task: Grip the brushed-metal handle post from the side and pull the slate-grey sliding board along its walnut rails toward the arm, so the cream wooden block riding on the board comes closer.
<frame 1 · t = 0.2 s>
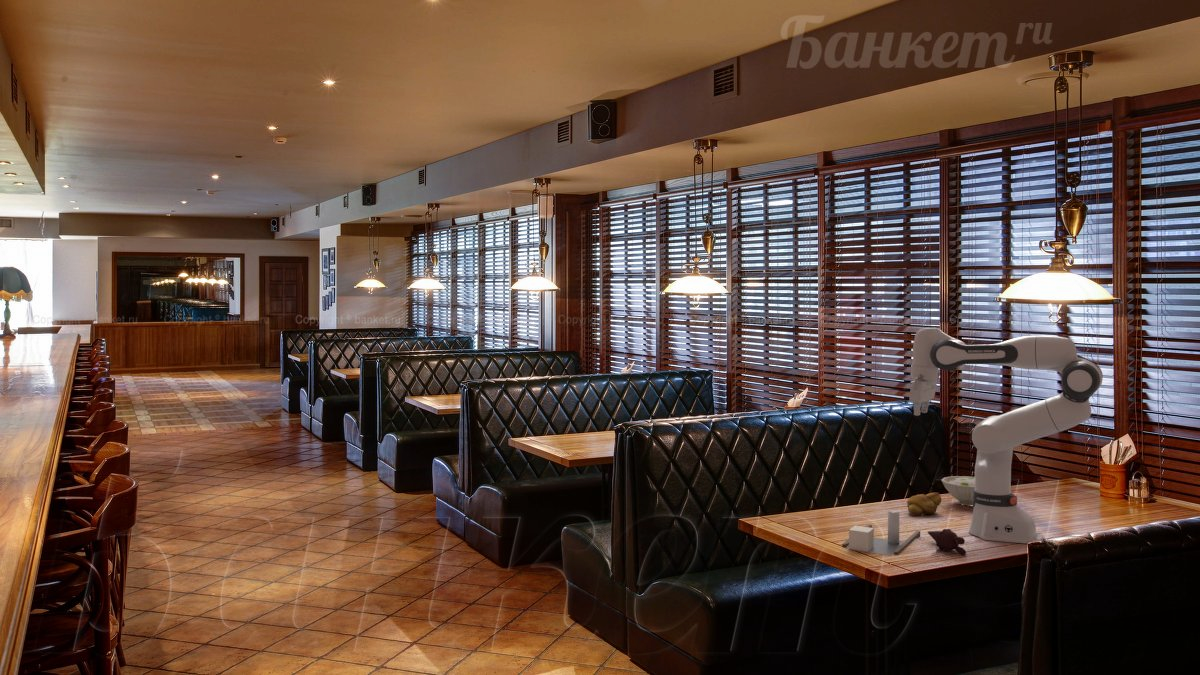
hand: (920, 413, 312), 39 cm above the table, tool pointing down, fingers open, 8 cm apart
rails: (882, 543, 292), on the table
block: (861, 547, 283), point 1 cm above the table, touching board
board: (875, 531, 285), point 6 cm above the table, slide at 0.0 cm, touching block
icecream: (946, 550, 284), on the table
bread roll: (920, 514, 331), on the table
bowl: (968, 504, 343), on the table
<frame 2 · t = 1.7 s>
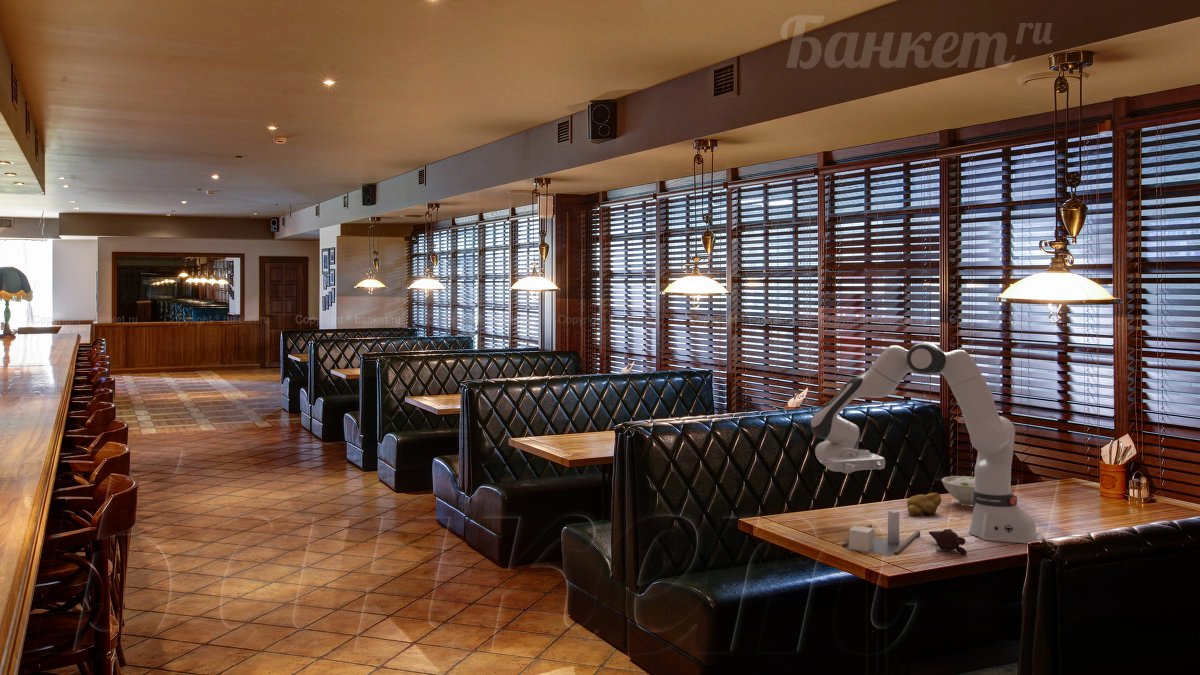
hand: (868, 467, 302), 22 cm above the table, tool horizontal, fingers open, 8 cm apart
nothing on the table moved.
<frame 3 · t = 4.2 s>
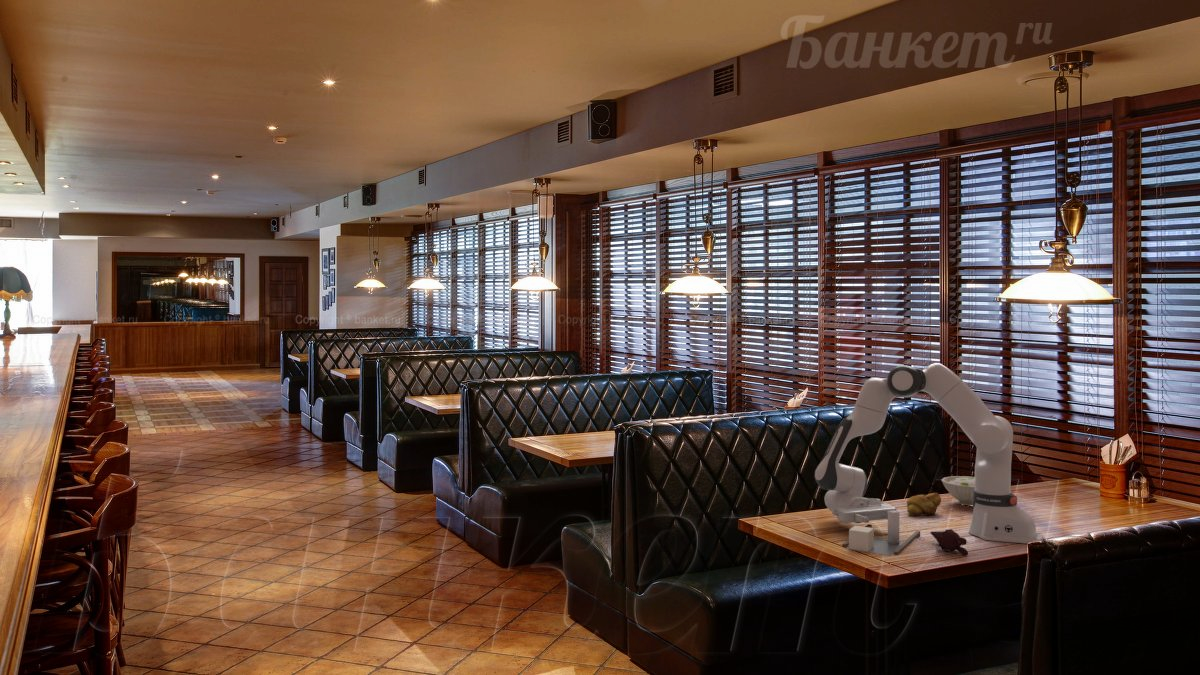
hand: (879, 519, 295), 7 cm above the table, tool horizontal, fingers open, 8 cm apart
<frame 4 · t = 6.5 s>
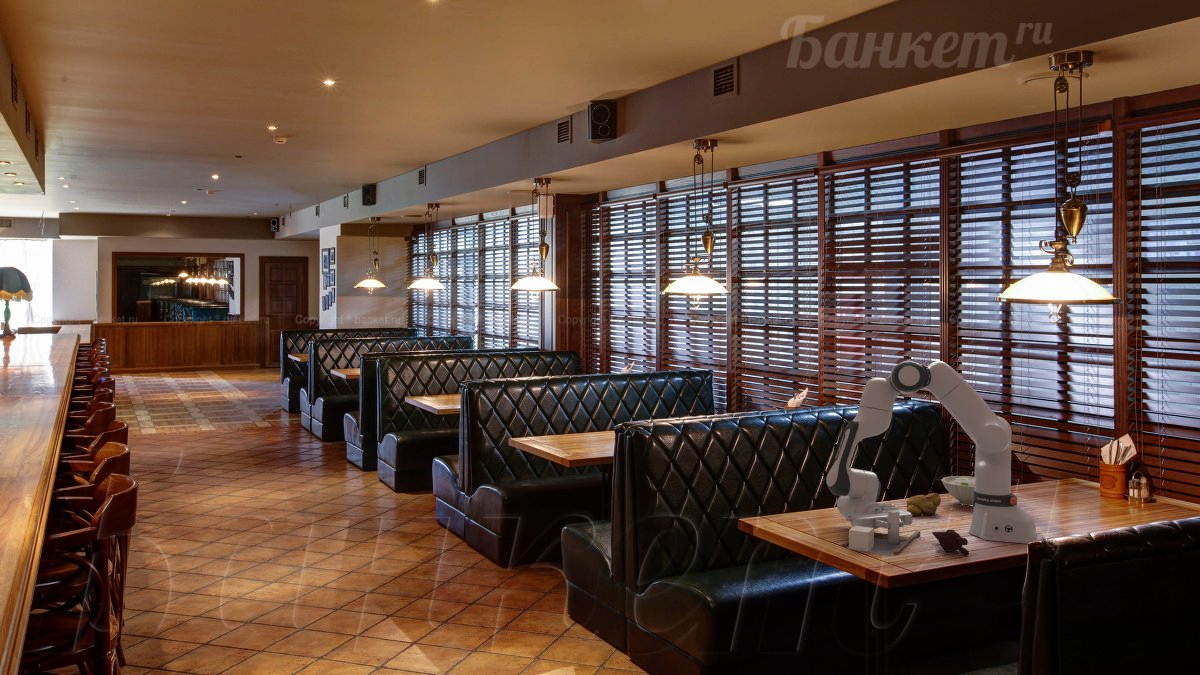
hand: (895, 525, 287), 7 cm above the table, tool horizontal, fingers closed on board, 3 cm apart
board: (875, 531, 285), point 6 cm above the table, slide at 0.0 cm, touching block, gripper
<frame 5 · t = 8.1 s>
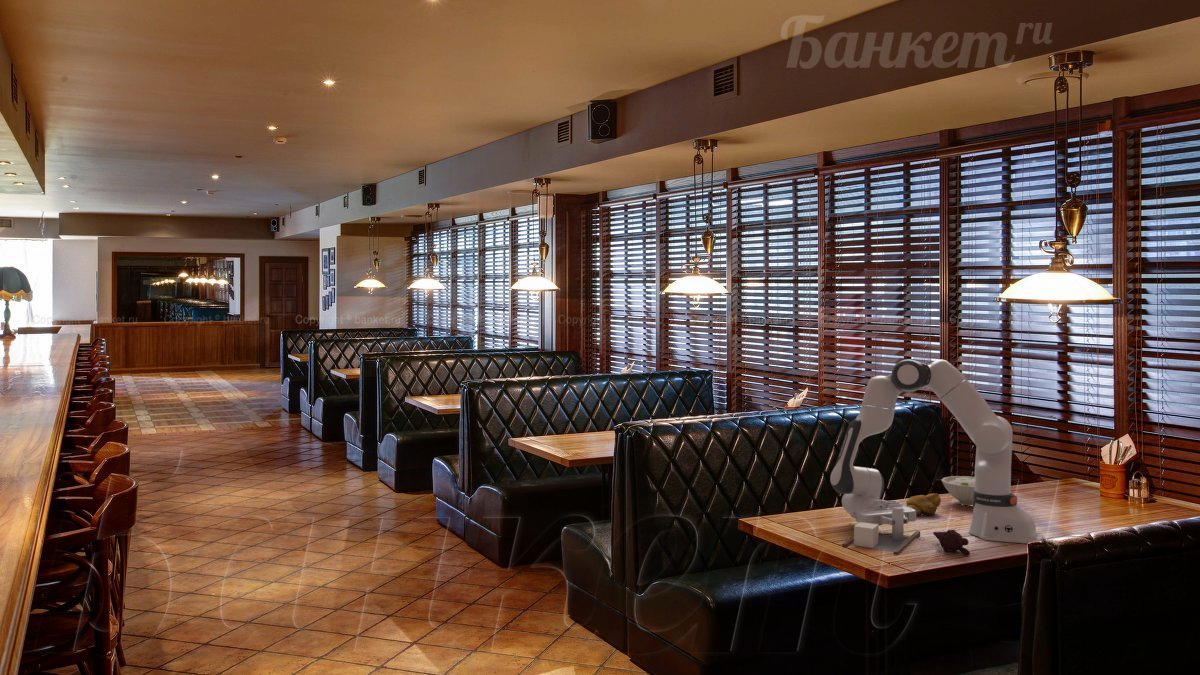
hand: (899, 521, 291), 7 cm above the table, tool horizontal, fingers closed on board, 3 cm apart
block: (866, 543, 287), point 1 cm above the table, touching board
board: (880, 527, 289), point 6 cm above the table, slide at 5.1 cm, touching block, gripper
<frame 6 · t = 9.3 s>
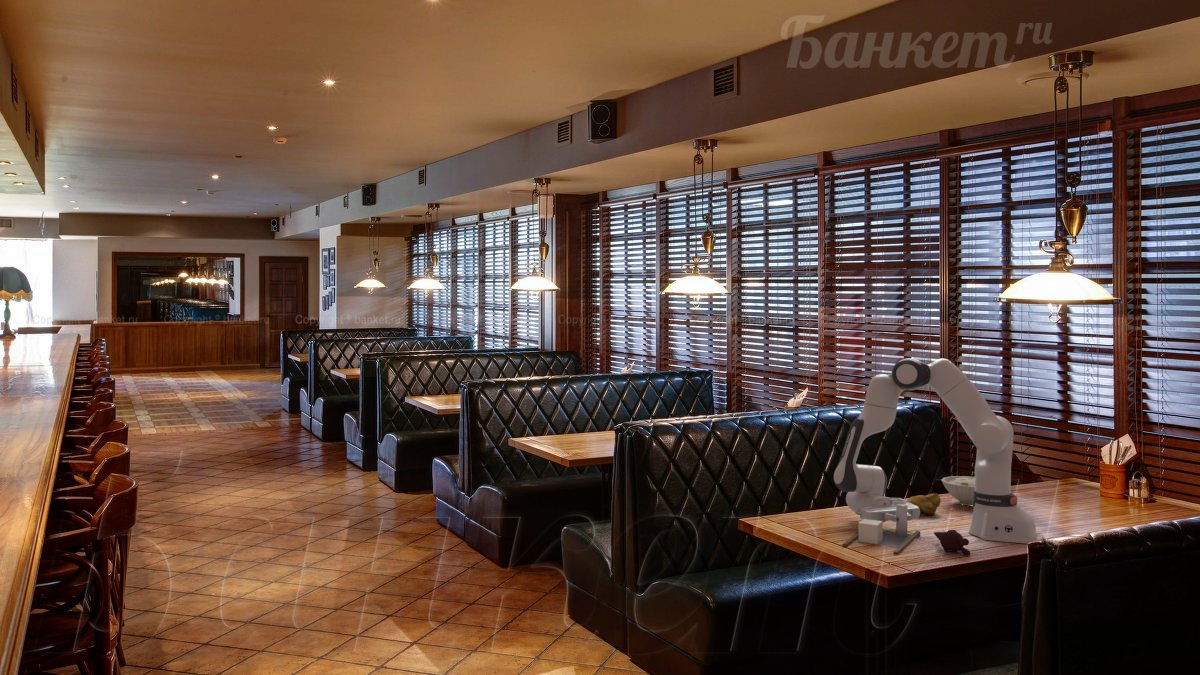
hand: (903, 518, 295), 7 cm above the table, tool horizontal, fingers closed on board, 3 cm apart
block: (870, 540, 291), point 1 cm above the table, touching board
board: (884, 524, 293), point 6 cm above the table, slide at 9.9 cm, touching block, gripper
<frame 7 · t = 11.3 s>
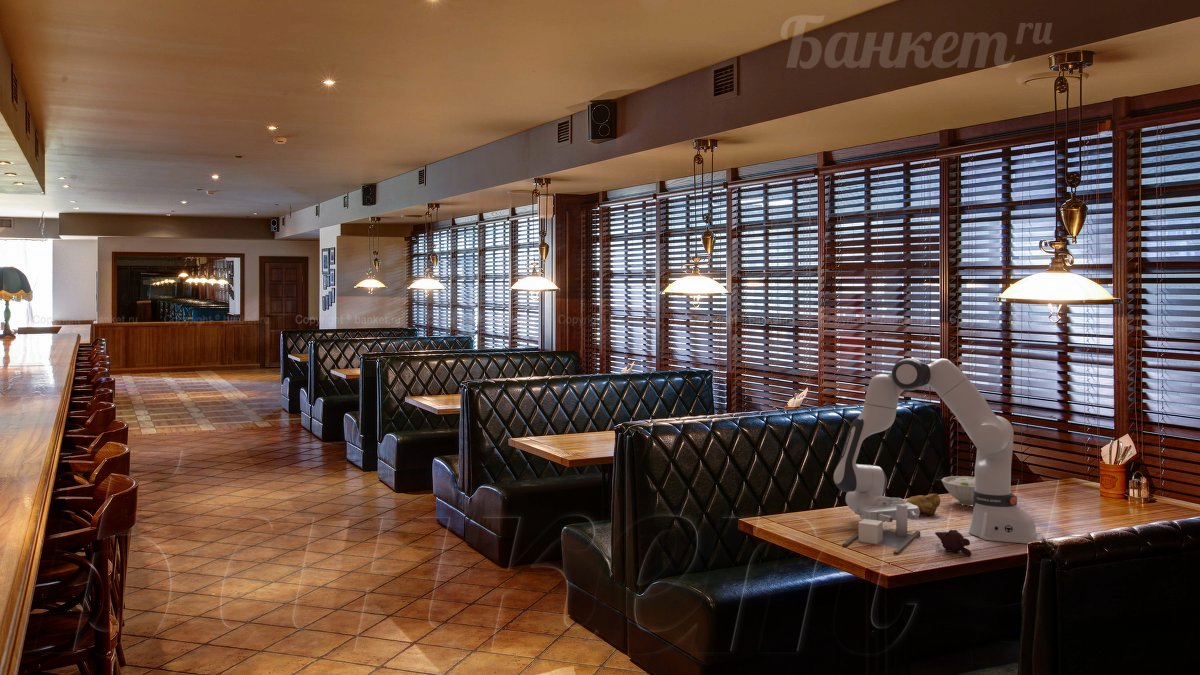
hand: (903, 518, 296), 7 cm above the table, tool horizontal, fingers open, 8 cm apart
board: (884, 524, 293), point 6 cm above the table, slide at 10.0 cm, touching block
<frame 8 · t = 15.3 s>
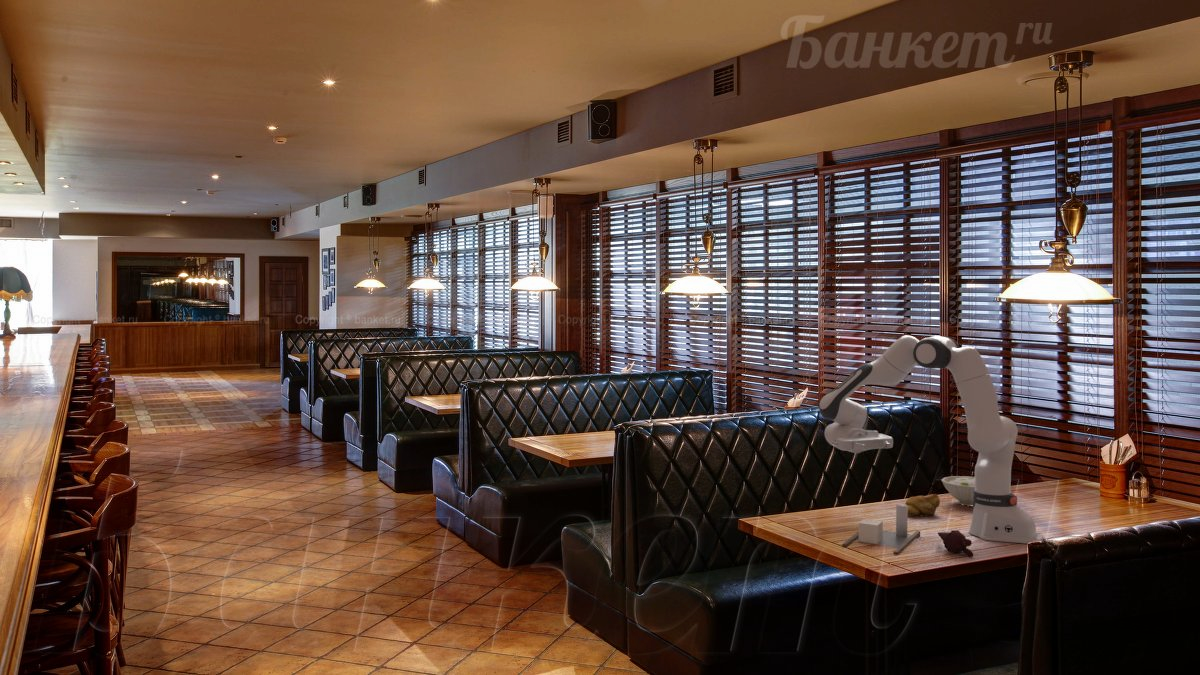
hand: (877, 446, 311), 28 cm above the table, tool horizontal, fingers open, 8 cm apart
at the end: board slide at 10.0 cm; block inside the target area (0.5 cm from its centre), point 1.2 cm above the table; block tilted 0° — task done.
